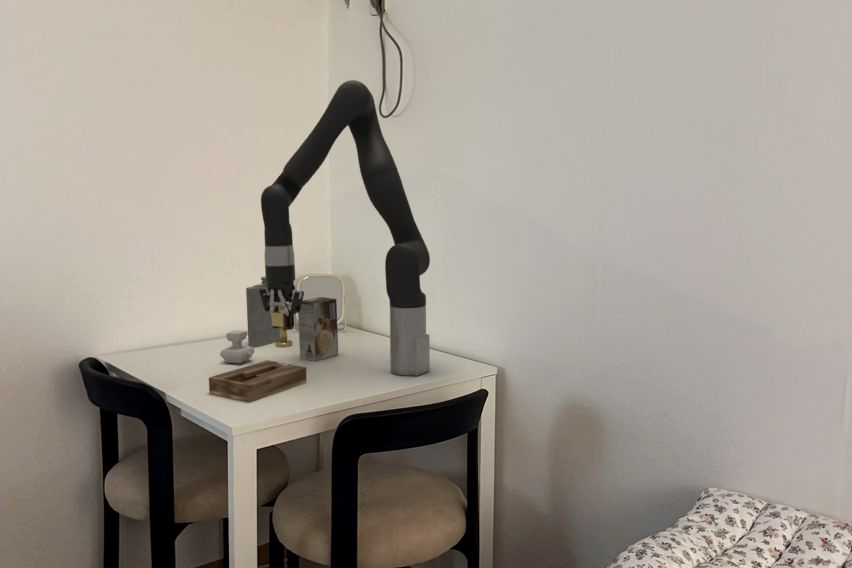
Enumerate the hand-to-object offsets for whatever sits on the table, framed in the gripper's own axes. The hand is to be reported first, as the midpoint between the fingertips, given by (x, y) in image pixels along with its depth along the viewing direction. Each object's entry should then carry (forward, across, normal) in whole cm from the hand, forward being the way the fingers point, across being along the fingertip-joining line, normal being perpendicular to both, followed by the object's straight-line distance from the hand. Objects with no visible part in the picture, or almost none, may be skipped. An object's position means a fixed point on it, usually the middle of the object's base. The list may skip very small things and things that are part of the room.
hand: (283, 328), depth 198 cm
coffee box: (+11, 0, -14) cm, 18 cm away
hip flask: (+10, +25, -20) cm, 34 cm away
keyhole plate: (+11, -7, +17) cm, 21 cm away
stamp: (+11, +16, +2) cm, 19 cm away
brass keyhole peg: (+5, 0, 0) cm, 5 cm away
